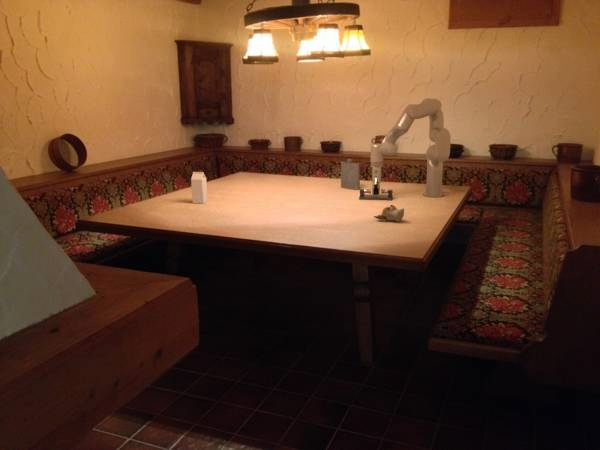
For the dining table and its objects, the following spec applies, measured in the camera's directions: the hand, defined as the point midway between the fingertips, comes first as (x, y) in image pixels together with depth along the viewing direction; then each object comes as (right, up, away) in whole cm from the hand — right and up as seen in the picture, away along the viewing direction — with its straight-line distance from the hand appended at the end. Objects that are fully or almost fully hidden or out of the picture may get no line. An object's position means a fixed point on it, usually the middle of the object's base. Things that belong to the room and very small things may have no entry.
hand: (376, 193), depth 327 cm
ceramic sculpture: (0, -17, -51) cm, 54 cm away
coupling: (0, -1, 0) cm, 1 cm away
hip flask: (-13, +5, +33) cm, 36 cm away
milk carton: (-109, -6, 0) cm, 109 cm away
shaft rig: (0, -3, +1) cm, 3 cm away
